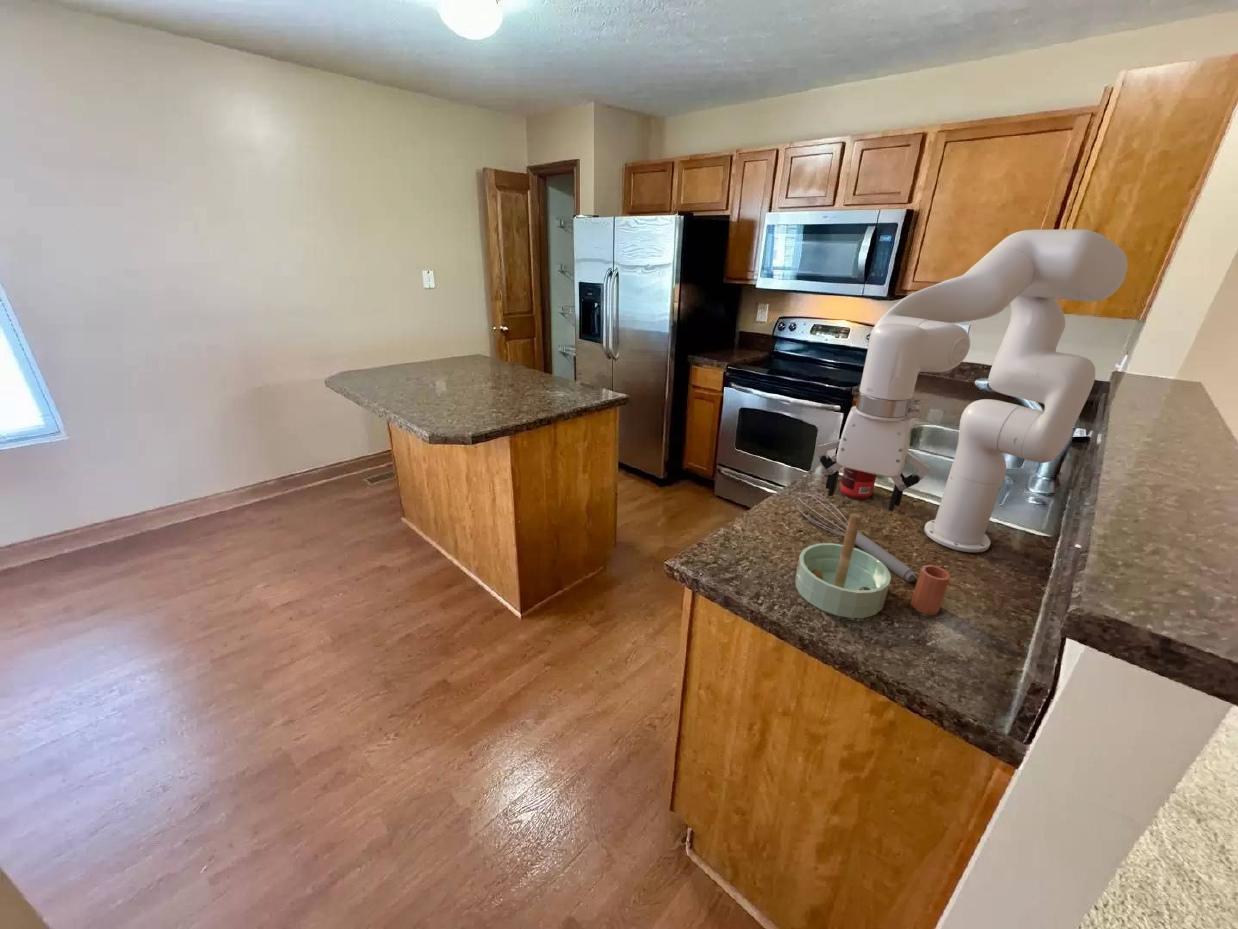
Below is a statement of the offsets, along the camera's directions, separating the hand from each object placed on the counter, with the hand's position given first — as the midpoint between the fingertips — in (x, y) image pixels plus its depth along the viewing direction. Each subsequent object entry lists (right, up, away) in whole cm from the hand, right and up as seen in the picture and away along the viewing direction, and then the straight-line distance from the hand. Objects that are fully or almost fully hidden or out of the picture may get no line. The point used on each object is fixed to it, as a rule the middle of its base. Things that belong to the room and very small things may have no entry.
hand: (860, 500), depth 88 cm
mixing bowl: (-1, -18, +8) cm, 20 cm away
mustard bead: (-4, -15, +9) cm, 18 cm away
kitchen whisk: (+9, -11, +24) cm, 28 cm away
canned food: (+21, -1, +47) cm, 51 cm away
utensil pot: (+13, -20, +4) cm, 24 cm away
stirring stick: (-1, -17, +7) cm, 19 cm away
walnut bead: (+3, -17, +5) cm, 18 cm away
